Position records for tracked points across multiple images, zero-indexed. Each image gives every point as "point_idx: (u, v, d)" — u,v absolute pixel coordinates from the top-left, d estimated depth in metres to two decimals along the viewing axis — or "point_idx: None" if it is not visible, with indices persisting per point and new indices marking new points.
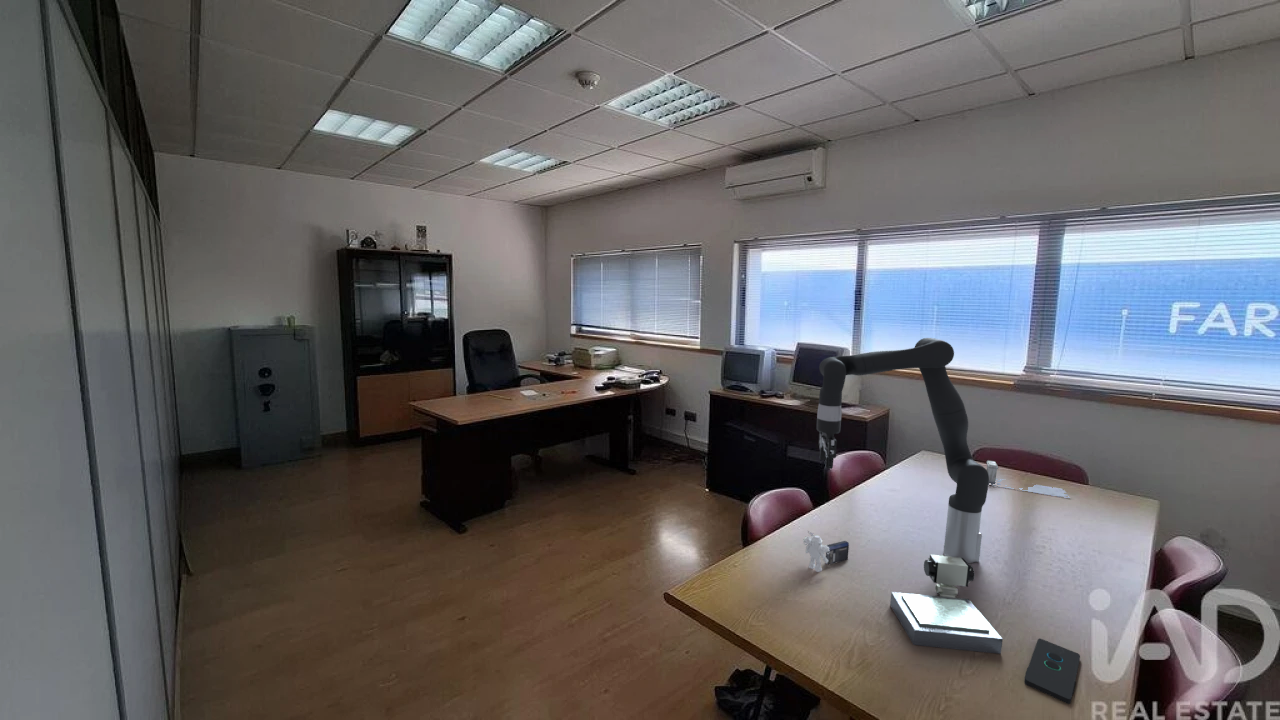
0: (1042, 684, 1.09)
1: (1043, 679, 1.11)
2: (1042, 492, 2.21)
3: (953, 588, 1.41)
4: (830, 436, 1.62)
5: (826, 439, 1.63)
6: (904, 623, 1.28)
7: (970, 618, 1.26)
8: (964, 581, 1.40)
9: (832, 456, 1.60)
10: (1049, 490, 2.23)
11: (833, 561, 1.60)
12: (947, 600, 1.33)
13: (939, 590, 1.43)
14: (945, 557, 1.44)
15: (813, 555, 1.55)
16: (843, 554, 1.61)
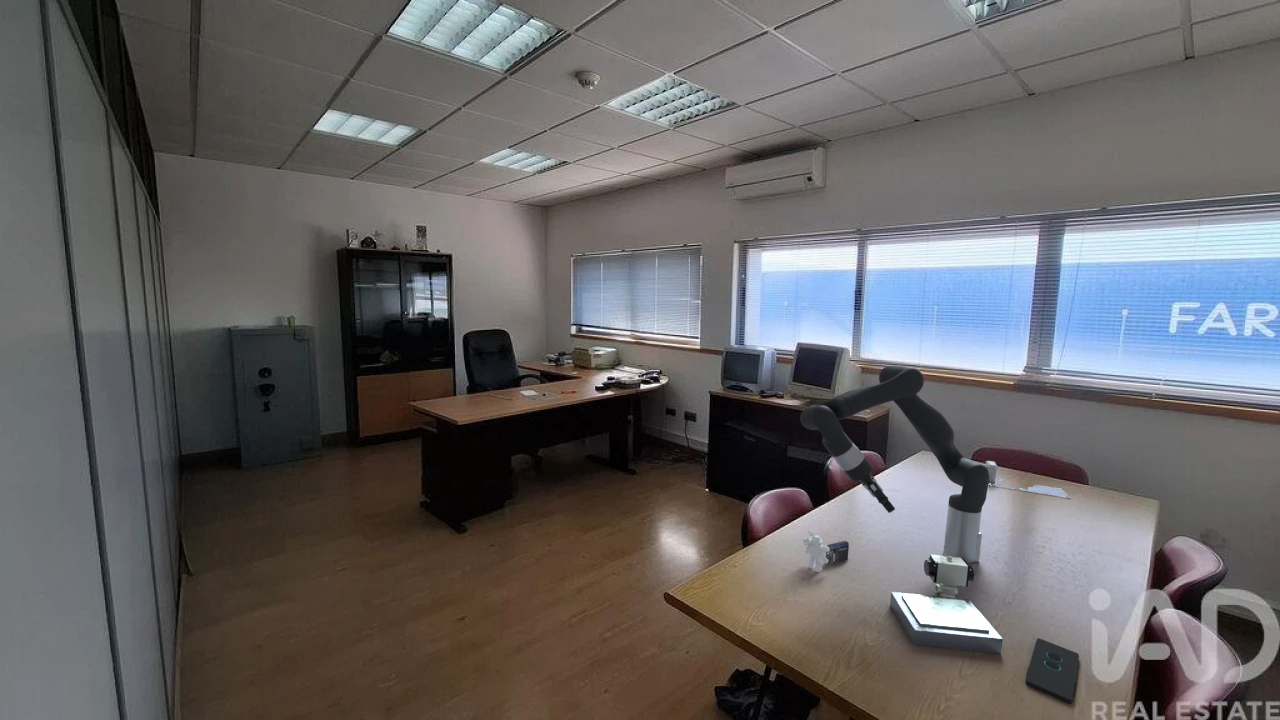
0: (1043, 684, 1.09)
1: (1044, 680, 1.11)
2: (1041, 492, 2.21)
3: (953, 588, 1.41)
4: (867, 480, 1.41)
5: (866, 485, 1.42)
6: (904, 623, 1.28)
7: (970, 618, 1.26)
8: (964, 581, 1.40)
9: (884, 500, 1.38)
10: (1049, 490, 2.23)
11: (833, 561, 1.60)
12: (947, 600, 1.33)
13: (939, 590, 1.43)
14: (945, 557, 1.44)
15: (813, 555, 1.55)
16: (843, 554, 1.61)
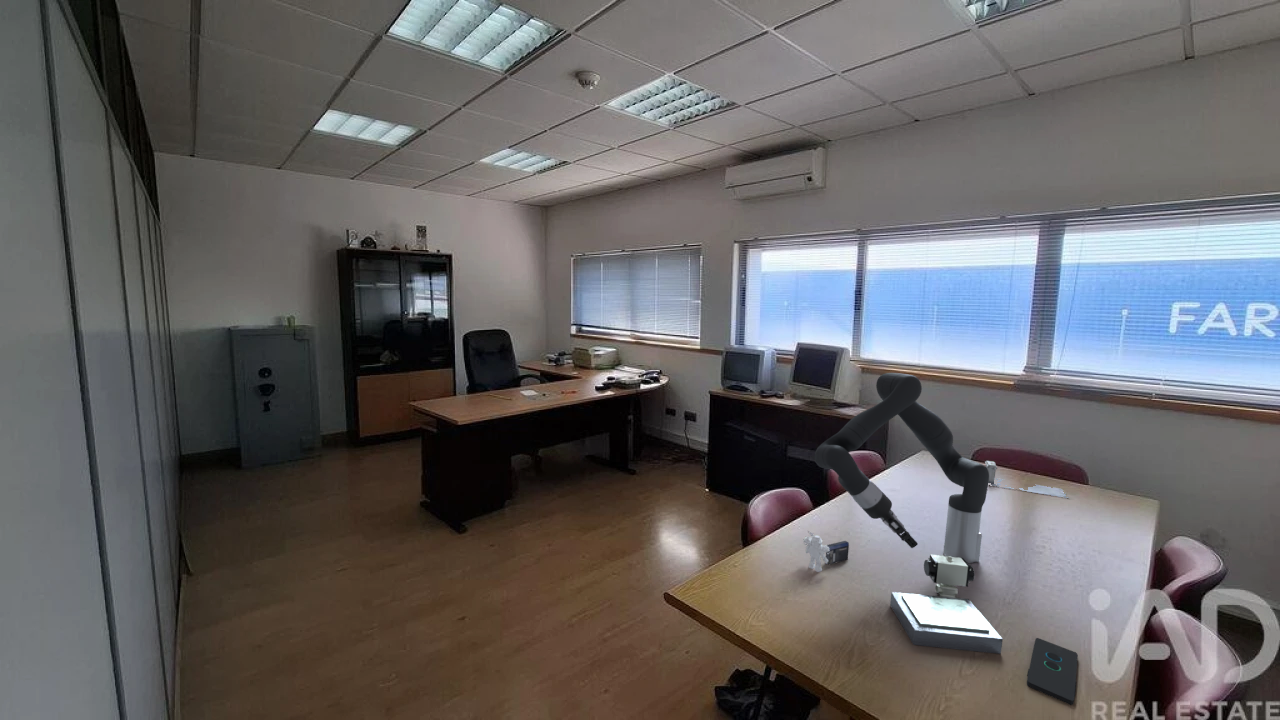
0: (1045, 685, 1.09)
1: (1045, 680, 1.10)
2: (1041, 492, 2.21)
3: (953, 588, 1.41)
4: (887, 517, 1.40)
5: (887, 521, 1.41)
6: (904, 623, 1.28)
7: (970, 618, 1.26)
8: (964, 581, 1.40)
9: (906, 537, 1.36)
10: (1048, 490, 2.23)
11: (833, 561, 1.60)
12: (947, 600, 1.33)
13: (939, 590, 1.43)
14: (945, 557, 1.44)
15: (813, 555, 1.55)
16: (843, 554, 1.61)
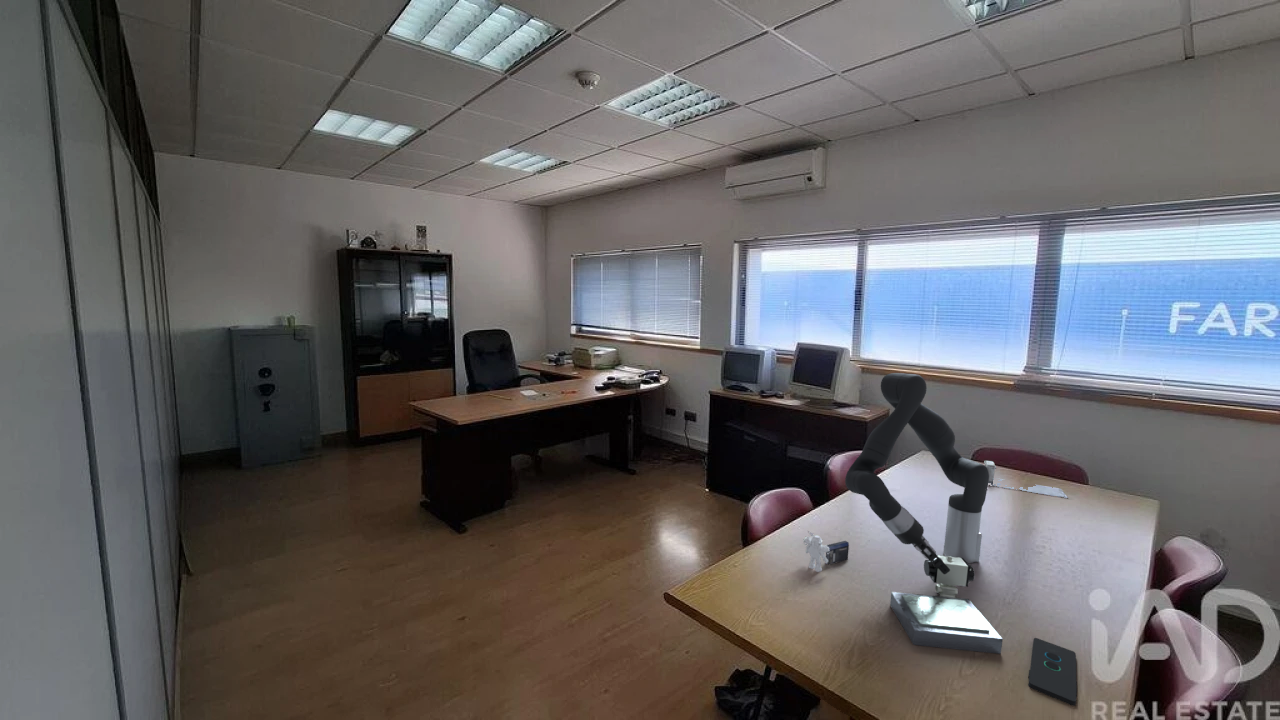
0: (1047, 687, 1.09)
1: (1046, 681, 1.10)
2: (1040, 492, 2.21)
3: (953, 588, 1.41)
4: (919, 543, 1.39)
5: (918, 547, 1.40)
6: (904, 623, 1.28)
7: (970, 618, 1.26)
8: (964, 581, 1.40)
9: (939, 564, 1.36)
10: (1047, 490, 2.23)
11: (833, 561, 1.60)
12: (947, 600, 1.33)
13: (939, 590, 1.43)
14: (945, 557, 1.44)
15: (813, 555, 1.55)
16: (843, 554, 1.61)
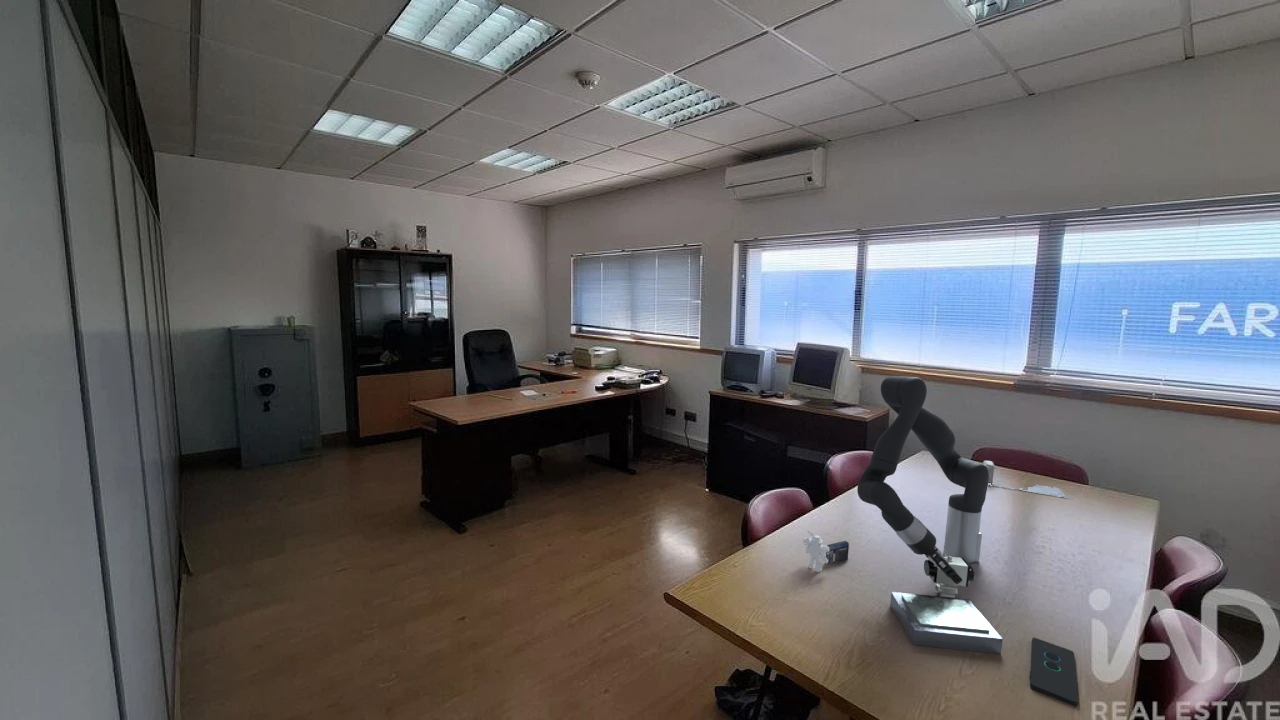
0: (1048, 688, 1.08)
1: (1048, 682, 1.10)
2: (1039, 492, 2.21)
3: (953, 588, 1.41)
4: (932, 554, 1.39)
5: (931, 557, 1.40)
6: (904, 623, 1.28)
7: (970, 618, 1.26)
8: (964, 581, 1.40)
9: (952, 574, 1.37)
10: (1046, 490, 2.23)
11: (833, 561, 1.60)
12: (947, 600, 1.33)
13: (939, 590, 1.43)
14: (945, 557, 1.44)
15: (813, 555, 1.55)
16: (843, 554, 1.61)
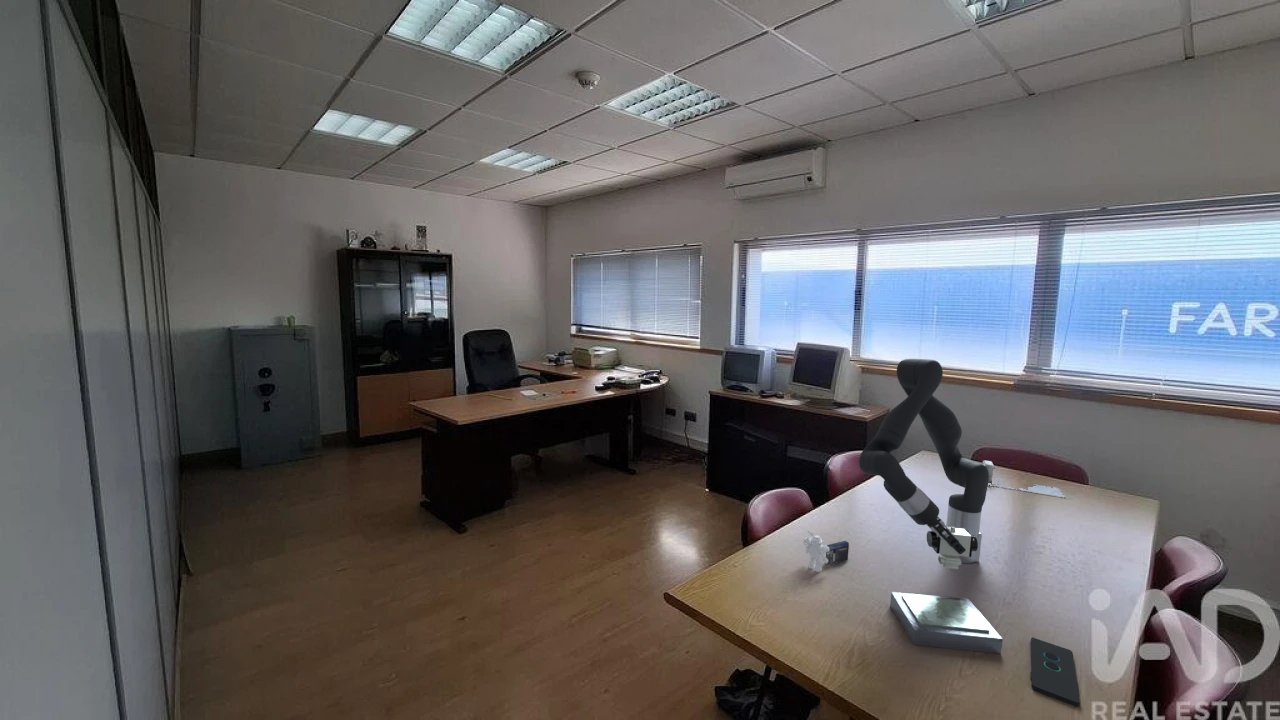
0: (1050, 688, 1.08)
1: (1049, 683, 1.10)
2: (1038, 491, 2.22)
3: (956, 559, 1.40)
4: (935, 524, 1.38)
5: (934, 528, 1.39)
6: (904, 623, 1.28)
7: (970, 618, 1.26)
8: (967, 551, 1.39)
9: (955, 543, 1.36)
10: (1045, 490, 2.24)
11: (833, 561, 1.60)
12: (947, 600, 1.33)
13: (942, 561, 1.42)
14: None
15: (813, 555, 1.55)
16: (843, 554, 1.61)
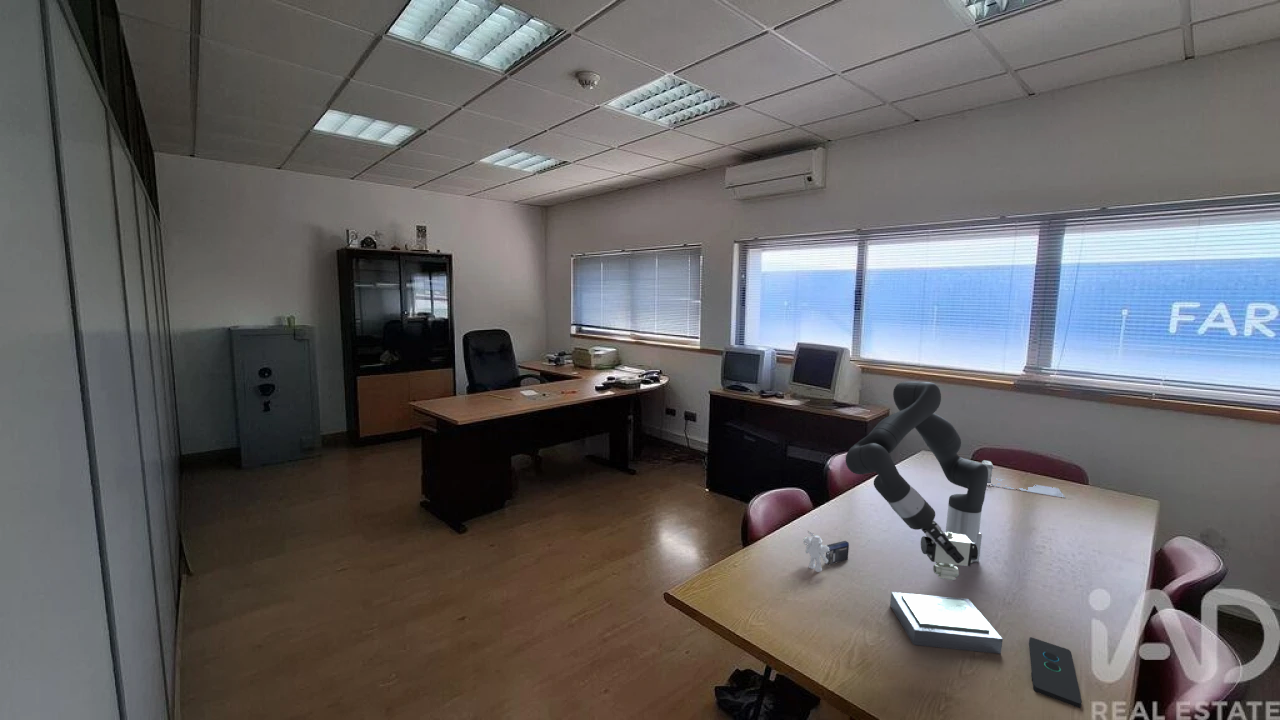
0: (1052, 689, 1.08)
1: (1050, 684, 1.09)
2: (1037, 491, 2.22)
3: (953, 568, 1.25)
4: (930, 528, 1.23)
5: (929, 533, 1.24)
6: (904, 623, 1.28)
7: (970, 618, 1.26)
8: (966, 560, 1.23)
9: (952, 551, 1.21)
10: (1045, 490, 2.24)
11: (833, 561, 1.60)
12: (947, 600, 1.33)
13: (937, 570, 1.26)
14: (945, 533, 1.27)
15: (813, 555, 1.55)
16: (843, 554, 1.61)
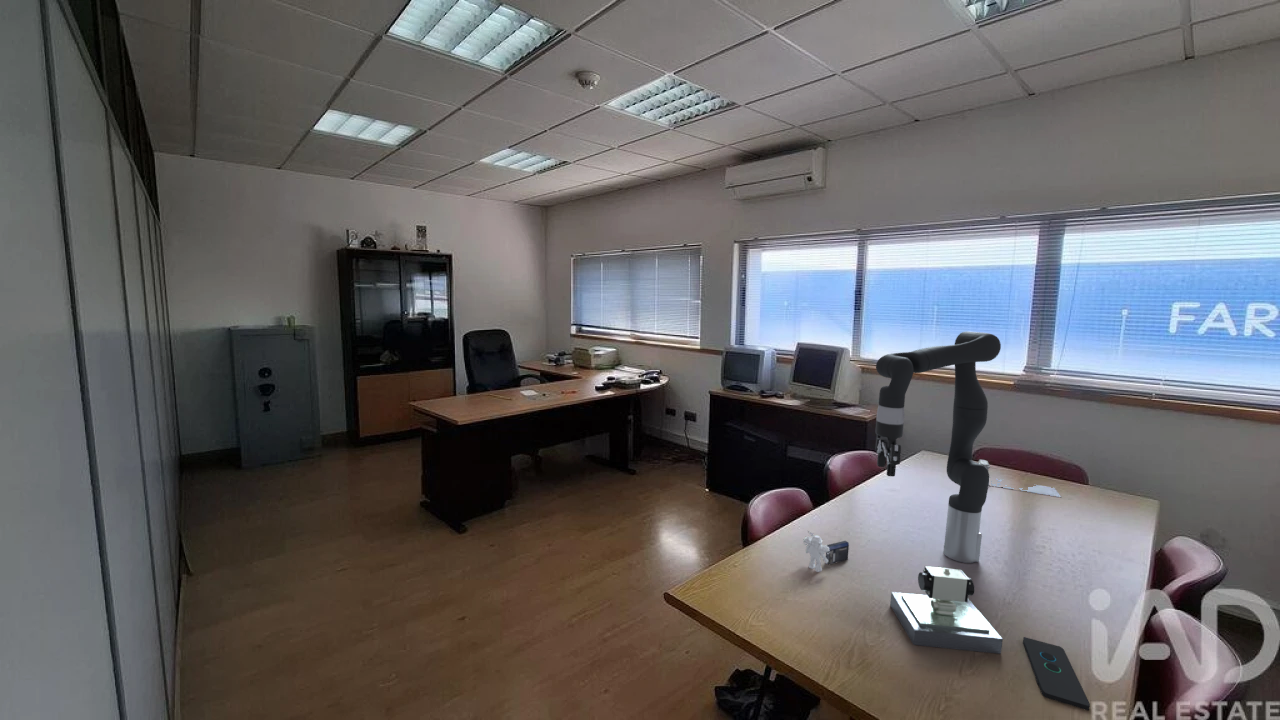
0: (1060, 693, 1.07)
1: (1057, 687, 1.08)
2: (1033, 491, 2.22)
3: (951, 604, 1.26)
4: (892, 441, 1.48)
5: (887, 444, 1.49)
6: (904, 623, 1.28)
7: (970, 618, 1.26)
8: (963, 596, 1.25)
9: (895, 463, 1.46)
10: (1041, 489, 2.24)
11: (833, 561, 1.60)
12: None
13: (935, 606, 1.28)
14: (941, 569, 1.29)
15: (813, 555, 1.55)
16: (843, 554, 1.61)
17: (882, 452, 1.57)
